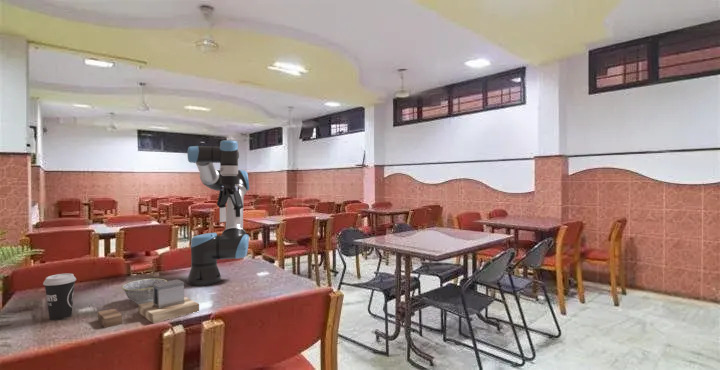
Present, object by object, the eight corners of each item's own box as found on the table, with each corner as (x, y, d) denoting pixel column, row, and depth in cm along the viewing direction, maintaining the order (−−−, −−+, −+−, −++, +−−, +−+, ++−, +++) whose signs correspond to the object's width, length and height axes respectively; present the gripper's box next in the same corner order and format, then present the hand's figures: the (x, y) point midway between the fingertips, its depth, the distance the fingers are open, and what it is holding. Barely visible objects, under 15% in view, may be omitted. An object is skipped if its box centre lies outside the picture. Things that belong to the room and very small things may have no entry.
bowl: (135, 311, 145) (135, 291, 145) (114, 304, 154) (114, 285, 153) (175, 299, 159) (174, 281, 159) (153, 293, 167) (153, 276, 167)
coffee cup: (56, 312, 144) (55, 273, 143) (82, 311, 144) (82, 272, 144) (36, 322, 134) (36, 279, 134) (65, 321, 135) (64, 279, 135)
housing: (178, 299, 149) (177, 279, 149) (184, 303, 145) (184, 282, 145) (153, 305, 143) (152, 284, 142) (159, 309, 138) (158, 287, 138)
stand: (97, 320, 136) (97, 311, 136) (114, 316, 139) (113, 308, 139) (105, 327, 129) (105, 319, 129) (122, 323, 133) (121, 315, 132)
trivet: (138, 312, 143) (138, 304, 143) (182, 302, 155) (182, 294, 155) (153, 323, 132) (153, 314, 132) (199, 311, 144) (199, 303, 144)
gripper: (209, 175, 175) (209, 221, 176) (234, 175, 158) (235, 226, 158) (224, 175, 181) (225, 220, 181) (251, 175, 163) (251, 224, 163)
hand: (229, 223), depth 170 cm, fingers open, 13 cm apart
